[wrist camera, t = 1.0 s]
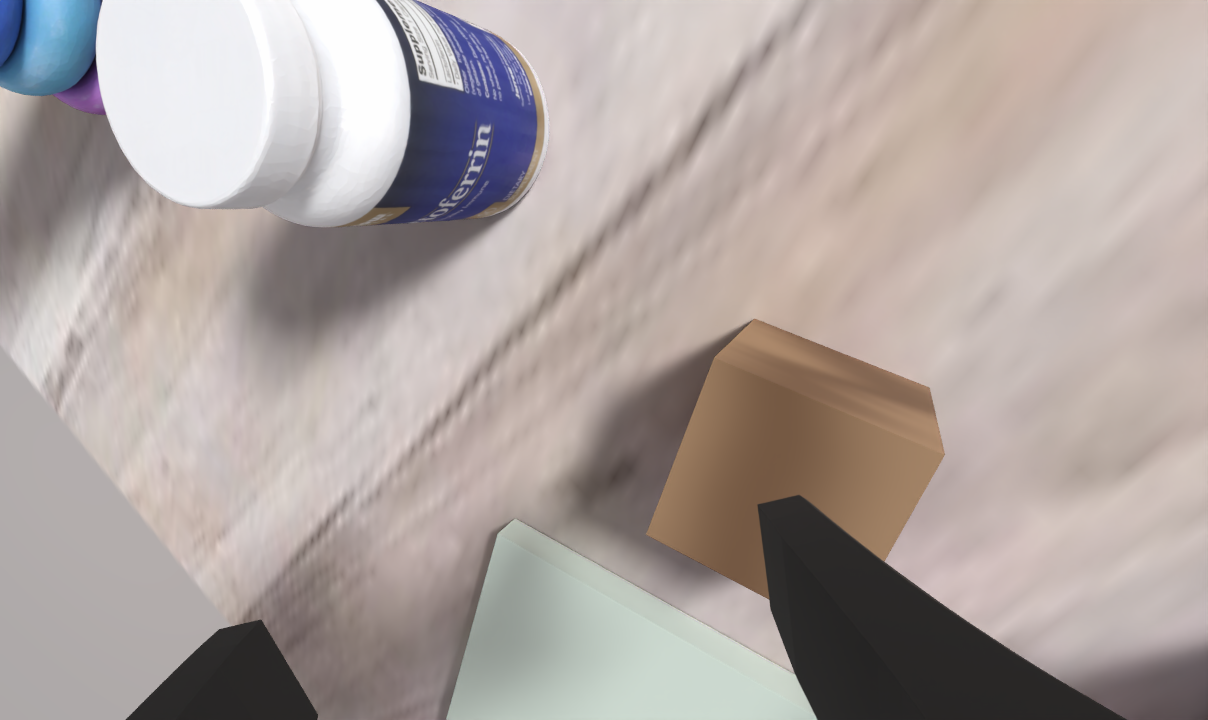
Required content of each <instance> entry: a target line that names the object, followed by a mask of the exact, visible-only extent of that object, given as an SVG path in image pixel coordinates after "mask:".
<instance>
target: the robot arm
mask: <svg viewBox="0 0 1208 720" xmlns="http://www.w3.org/2000/svg"><path fill="white" fill-rule="evenodd" d="M757 506H758V514H759V522H760V529H761V537H762V545H763V553H764V561H765V568H766V576H767V584H768V592H769V600H770V608H771V611H772V614H773V617H774V619H775V622H776V625H777V627H778V630H779V633H780V636H781V638H782V641H783V644H784V646H785V649H786V651H787V654H788V657H789V659H790V662H791V664H792V667H793V670H794V672H795V675H796V677H797V680H798V682H799V684H800V686H801V688H802V690H803V692H804V694H805V696H806V698H807V700H808V702H809V704H810V706H811V708H812V710H813V712H814V714H815V716H816V718H817V720H1127V719H1125V718H1123V717H1122V716H1120V715H1118V714H1116V713H1114V712H1113V711H1111V710H1109V709H1107V708H1106V707H1104V706H1102V705H1101V704H1099V703H1097V702H1095V701H1094V700H1092V699H1090V698H1089V697H1087V696H1085V695H1083V694H1082V693H1080V692H1078V691H1077V690H1075V689H1073V688H1071V687H1070V686H1068V685H1066V684H1065V683H1063V682H1061V681H1060V680H1058V679H1056V678H1055V677H1053V676H1051V675H1050V674H1048V673H1046V672H1045V671H1043V670H1042V669H1040V668H1038V667H1037V666H1035V665H1033V664H1032V663H1030V662H1029V661H1027V660H1026V659H1024V658H1022V657H1021V656H1019V655H1018V654H1016V653H1015V652H1013V651H1011V650H1010V649H1008V648H1007V647H1005V646H1004V645H1002V644H1001V643H999V642H998V641H996V640H995V639H993V638H992V637H990V636H989V635H987V634H986V633H984V632H983V631H981V630H979V629H978V628H976V627H975V626H973V625H972V624H970V623H969V622H967V621H966V620H964V619H963V618H962V617H960V616H959V615H957V614H956V613H954V612H953V611H951V610H950V609H949V608H947V607H946V606H944V605H943V604H941V603H940V602H938V601H937V600H936V599H934V598H933V597H932V596H930V595H929V594H928V593H926V592H925V591H923V590H922V589H921V588H919V587H918V586H917V585H915V584H914V583H912V582H911V581H910V580H908V579H907V578H906V577H904V576H903V575H901V574H900V573H899V572H897V571H896V570H895V569H893V568H892V567H891V566H889V565H888V564H887V563H885V562H884V561H883V560H881V559H880V558H879V557H877V556H876V555H875V554H874V553H872V552H871V551H870V550H869V549H867V548H866V547H865V546H863V545H862V544H861V543H860V542H858V541H857V540H856V539H855V538H853V537H852V536H851V535H849V534H848V533H847V532H846V531H845V530H843V529H842V528H841V527H840V526H838V525H837V524H836V523H835V522H833V521H832V520H831V519H830V518H829V517H827V516H826V515H825V514H824V513H823V512H821V511H820V510H819V509H818V508H816V507H815V506H814V505H813V504H812V503H810V502H809V501H808V500H807V499H805V498H804V497H802V496H800V495H796V496H791V497H787V498H783V499H779V500H774V501H770V502H766V503H761V504H757ZM317 718H318V714H317V712H316V711H315V709H314V707H313V706H312V704H311V702H310V701H309V699H308V697H307V695H306V694H305V692H304V690H303V689H302V687H301V685H300V684H299V682H298V680H297V679H296V677H295V675H294V674H293V672H292V670H291V669H290V667H289V665H288V664H287V662H286V660H285V659H284V657H283V655H282V654H281V652H280V650H279V649H278V647H277V645H276V644H275V642H274V640H273V638H272V637H271V635H270V633H269V632H268V630H267V628H266V627H265V625H264V623H263V622H262V620H257V621H253V622H249V623H244V624H240V625H236V626H231V627H227V628H223V629H219V630H218V631H217V632H216V633H215V634H214V635H212V636H211V637H210V638H209V639H208V640H207V641H206V642H204V643H203V644H202V645H201V646H200V647H199V648H198V649H197V650H196V651H195V652H194V653H193V654H192V655H191V656H190V657H188V658H187V659H186V660H185V661H184V662H183V663H182V664H181V665H180V666H179V667H178V668H177V669H176V670H175V671H174V672H173V673H172V674H171V675H170V676H169V677H168V678H167V679H166V680H165V681H164V682H163V683H162V684H161V685H160V686H159V687H158V688H157V689H156V690H155V691H154V692H153V693H152V694H151V695H150V696H149V697H148V698H147V699H146V700H145V701H144V702H143V703H142V704H141V705H140V706H139V707H138V708H137V709H136V710H135V711H134V712H133V713H132V714H131V715H130V716H129V717H128V718H127V719H126V720H317Z"/></svg>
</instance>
